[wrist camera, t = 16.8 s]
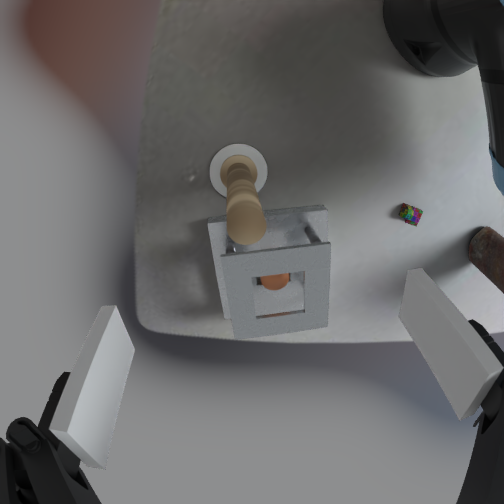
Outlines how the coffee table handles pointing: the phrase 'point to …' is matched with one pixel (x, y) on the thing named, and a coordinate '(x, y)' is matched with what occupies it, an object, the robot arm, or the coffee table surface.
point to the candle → (489, 255)
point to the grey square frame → (271, 263)
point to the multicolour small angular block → (410, 214)
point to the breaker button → (275, 281)
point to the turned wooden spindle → (242, 200)
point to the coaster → (237, 150)
